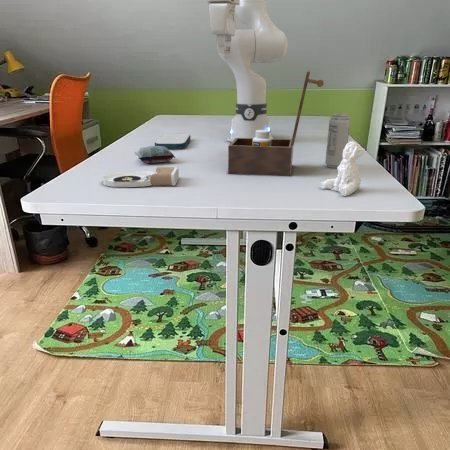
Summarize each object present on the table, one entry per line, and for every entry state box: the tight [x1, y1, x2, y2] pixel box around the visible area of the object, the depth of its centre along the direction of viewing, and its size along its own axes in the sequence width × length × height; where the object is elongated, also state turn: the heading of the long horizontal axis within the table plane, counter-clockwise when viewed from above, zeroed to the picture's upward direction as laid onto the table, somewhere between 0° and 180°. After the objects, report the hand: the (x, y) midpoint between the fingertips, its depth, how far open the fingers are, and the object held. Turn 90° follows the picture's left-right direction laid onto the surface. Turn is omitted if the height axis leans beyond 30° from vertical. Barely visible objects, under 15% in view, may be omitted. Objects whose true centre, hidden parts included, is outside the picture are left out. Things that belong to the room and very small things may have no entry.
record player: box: [101, 166, 180, 188], centre depth 123 cm, size 12×3×20 cm
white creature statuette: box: [320, 140, 366, 197], centre depth 113 cm, size 10×9×12 cm
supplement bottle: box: [252, 130, 272, 146], centre depth 134 cm, size 6×6×10 cm
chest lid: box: [291, 69, 325, 147], centre depth 127 cm, size 19×14×5 cm
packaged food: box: [133, 145, 176, 164], centre depth 146 cm, size 9×12×5 cm
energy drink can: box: [324, 113, 351, 169], centre depth 137 cm, size 6×6×15 cm
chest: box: [227, 138, 294, 177], centre depth 135 cm, size 18×14×8 cm
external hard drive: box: [154, 133, 191, 149], centre depth 175 cm, size 24×12×2 cm, turn 178°
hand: (224, 53), depth 132 cm, fingers open, 8 cm apart
